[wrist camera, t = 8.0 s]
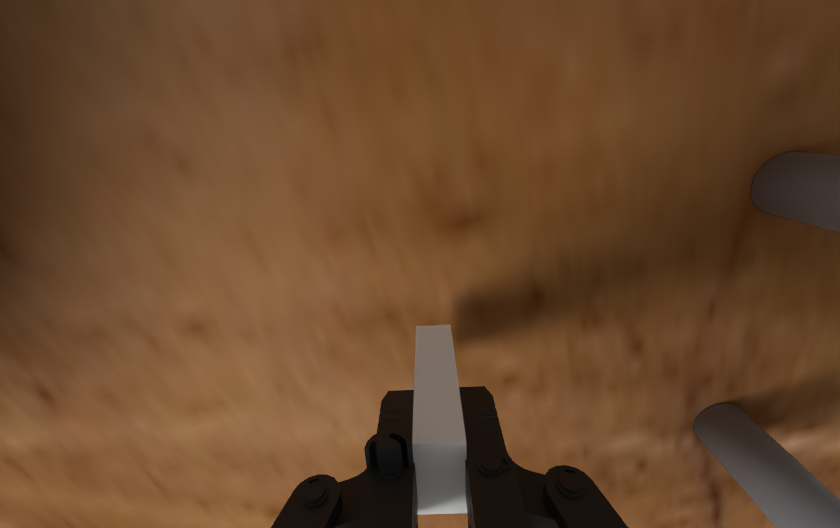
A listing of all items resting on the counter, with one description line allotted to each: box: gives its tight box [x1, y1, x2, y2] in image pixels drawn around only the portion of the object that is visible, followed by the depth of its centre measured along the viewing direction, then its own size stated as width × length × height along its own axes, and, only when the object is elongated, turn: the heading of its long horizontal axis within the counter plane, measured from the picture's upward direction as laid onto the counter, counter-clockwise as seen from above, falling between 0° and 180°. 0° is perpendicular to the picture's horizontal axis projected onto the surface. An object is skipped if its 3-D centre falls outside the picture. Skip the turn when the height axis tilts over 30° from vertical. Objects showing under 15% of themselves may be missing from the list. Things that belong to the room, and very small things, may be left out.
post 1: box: [694, 403, 840, 528], centre depth 17 cm, size 3×3×9 cm
